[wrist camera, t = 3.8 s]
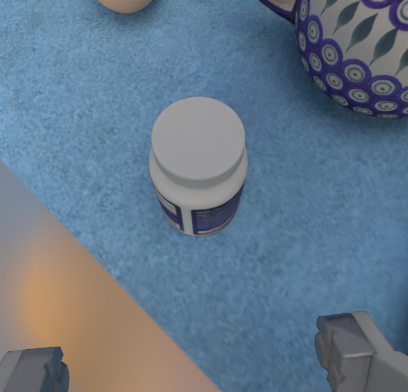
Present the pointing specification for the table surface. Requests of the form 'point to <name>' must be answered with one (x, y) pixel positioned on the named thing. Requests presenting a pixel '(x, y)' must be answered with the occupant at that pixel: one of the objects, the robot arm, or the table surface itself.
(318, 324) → the robot arm
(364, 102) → the teapot
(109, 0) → the egg
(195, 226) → the pill bottle
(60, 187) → the table surface
